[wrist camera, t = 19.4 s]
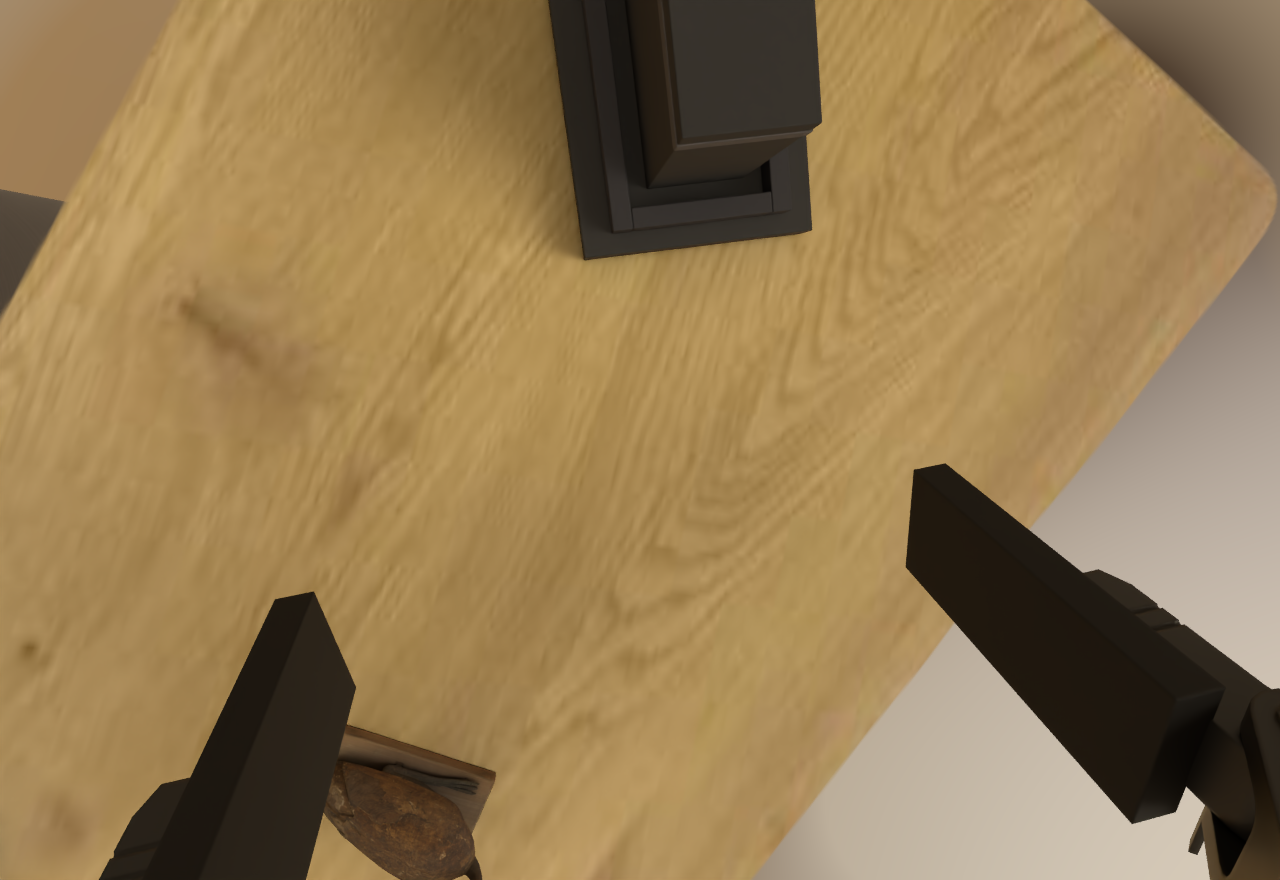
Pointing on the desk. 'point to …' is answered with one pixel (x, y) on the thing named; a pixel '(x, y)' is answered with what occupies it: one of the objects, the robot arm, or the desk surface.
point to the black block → (721, 84)
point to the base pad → (613, 160)
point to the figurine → (407, 806)
